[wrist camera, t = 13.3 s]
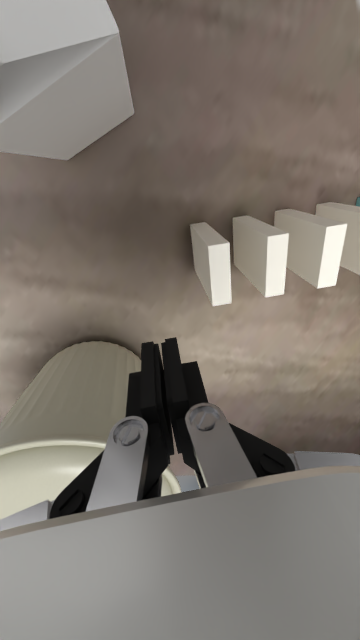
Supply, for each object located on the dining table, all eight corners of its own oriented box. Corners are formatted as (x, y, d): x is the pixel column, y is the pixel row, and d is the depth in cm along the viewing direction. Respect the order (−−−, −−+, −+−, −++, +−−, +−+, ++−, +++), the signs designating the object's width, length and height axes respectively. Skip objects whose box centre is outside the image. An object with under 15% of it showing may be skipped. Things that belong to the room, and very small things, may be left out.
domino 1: (189, 224, 27) (208, 246, 19) (205, 221, 27) (229, 242, 19) (194, 270, 29) (212, 306, 22) (208, 268, 29) (231, 303, 22)
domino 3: (274, 210, 27) (326, 226, 19) (289, 208, 27) (347, 223, 19) (272, 257, 30) (317, 288, 22) (286, 255, 30) (335, 285, 22)
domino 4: (316, 204, 27) (385, 217, 19) (331, 201, 27) (405, 214, 19) (310, 251, 30) (369, 279, 22) (324, 249, 30) (387, 276, 22)
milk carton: (79, 1, 18) (-471, -1395, 2) (135, 113, 22) (104, -58, 5) (2, 63, 19) (-765, -509, 3) (67, 161, 23) (-129, 138, 7)
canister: (1, 331, 30) (-215, 572, 12) (153, 304, 31) (165, 496, 13) (59, 429, 39) (-14, 650, 21) (176, 407, 40) (202, 604, 22)
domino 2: (232, 217, 27) (267, 236, 19) (247, 215, 27) (289, 233, 19) (233, 263, 29) (265, 297, 22) (247, 261, 29) (283, 294, 22)
